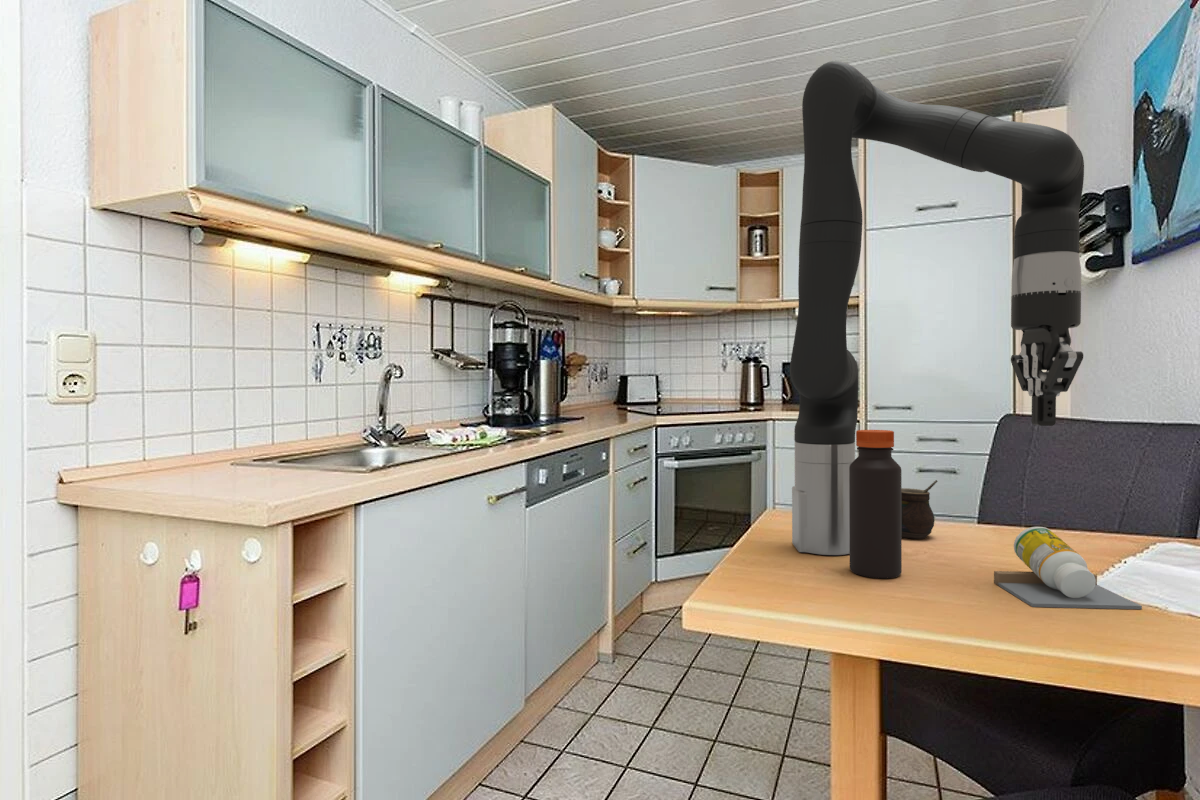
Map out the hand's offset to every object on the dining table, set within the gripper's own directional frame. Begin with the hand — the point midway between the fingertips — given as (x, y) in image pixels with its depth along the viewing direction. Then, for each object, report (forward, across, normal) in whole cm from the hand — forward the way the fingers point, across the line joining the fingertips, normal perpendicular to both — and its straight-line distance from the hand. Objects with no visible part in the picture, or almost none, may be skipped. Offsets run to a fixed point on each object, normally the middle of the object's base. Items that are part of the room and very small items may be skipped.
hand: (1043, 425), depth 86 cm
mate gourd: (+21, -27, -7) cm, 35 cm away
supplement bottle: (+16, -2, 0) cm, 16 cm away
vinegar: (+21, -4, -20) cm, 29 cm away
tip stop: (+21, +5, 0) cm, 22 cm away
